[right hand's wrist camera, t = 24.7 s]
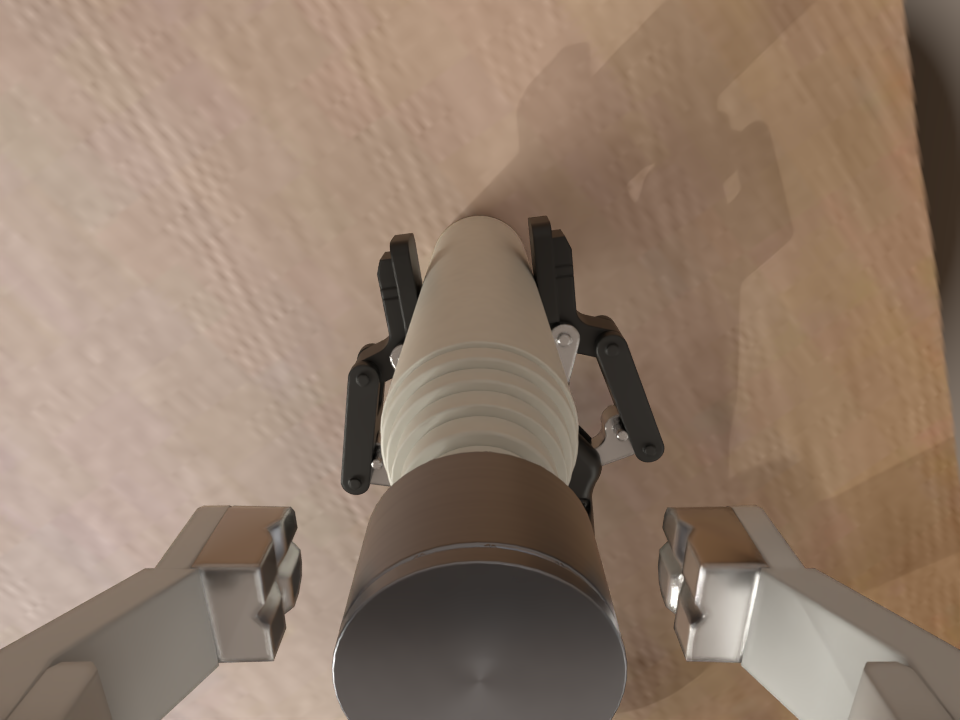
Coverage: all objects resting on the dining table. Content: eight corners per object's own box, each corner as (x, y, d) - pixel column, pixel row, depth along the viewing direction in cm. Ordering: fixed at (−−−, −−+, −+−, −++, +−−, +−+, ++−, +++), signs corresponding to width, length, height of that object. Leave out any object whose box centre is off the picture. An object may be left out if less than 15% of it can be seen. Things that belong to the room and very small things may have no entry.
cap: (325, 498, 10) (275, 622, 8) (544, 414, 10) (566, 519, 7) (425, 659, 11) (410, 809, 9) (624, 593, 11) (665, 734, 8)
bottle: (417, 283, 30) (272, 691, 9) (457, 198, 29) (394, 449, 8) (500, 322, 31) (544, 782, 10) (543, 241, 30) (705, 579, 8)
